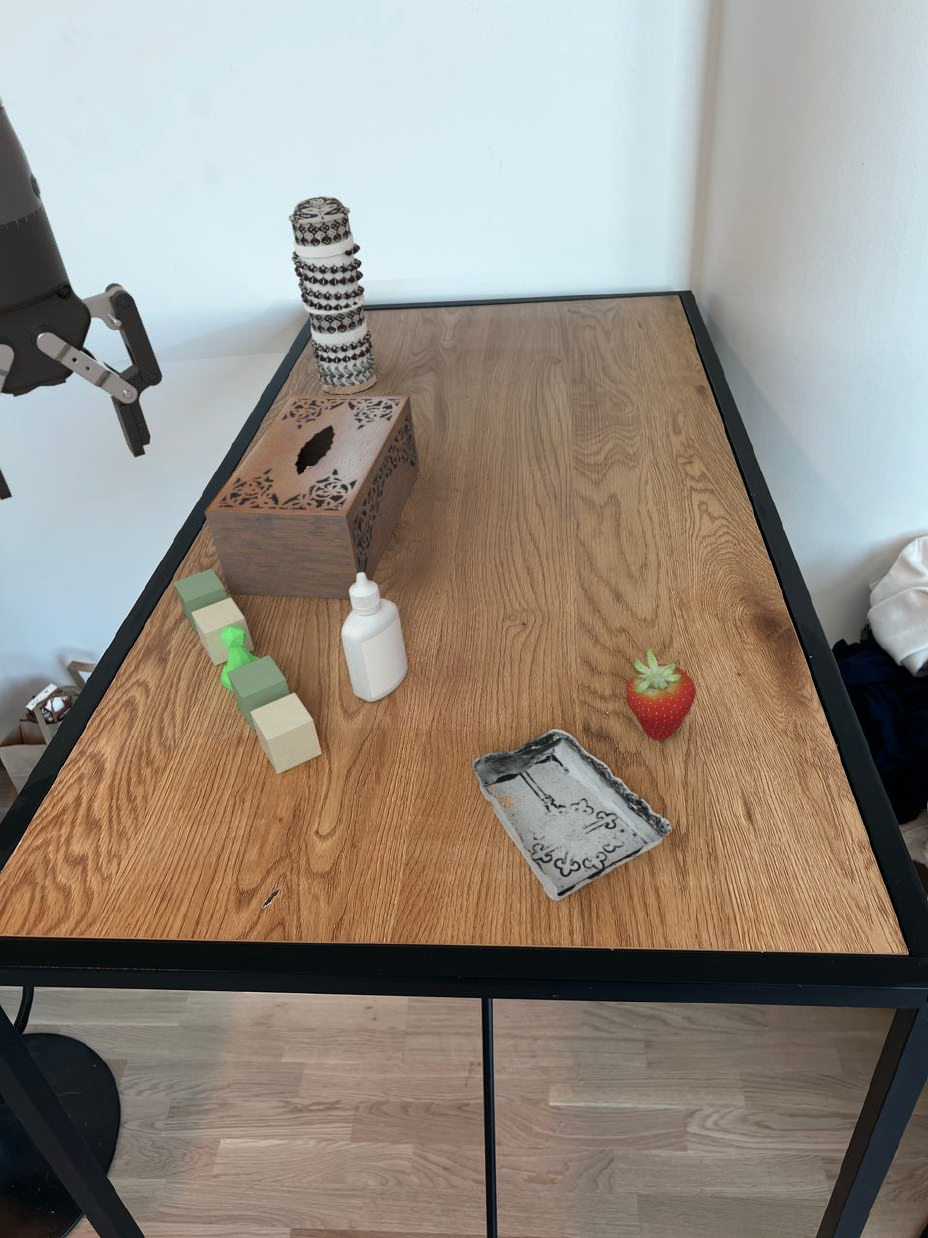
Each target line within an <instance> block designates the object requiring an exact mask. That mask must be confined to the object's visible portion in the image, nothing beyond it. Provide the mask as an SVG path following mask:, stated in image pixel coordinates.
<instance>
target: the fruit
mask: <svg viewBox="0 0 928 1238" xmlns="http://www.w3.org/2000/svg"><path fill="white" fill-rule="evenodd" d="M646 658H647V665H648V666H646V665H645V664H644V663H643V662H642V661H640V660H639V658H638V657H636V658H635V660H634V663H633V667H634V668H635V670H636V671H638V672H637V673H635V674H633V673H632V672H629V674H630V675H631V676H632V677H631V678H630V679H629V680H628V683H627V685H626V690H625V696H626V698H625V699H626V702H627V704H628V707H629V710H630V711H632V713H633V714H634V716H636V717H637V720H638V721H639V724H640V725H641V728H642V729H643V731H644V733H645V734H646V736H647V737H649V738H651V739H652V740H656V741H660V740H661V741H663V740H666V739H668V738H670V737H671V736H672V735H673V734H674V733H675V732H676V731H677V730H678V729H679V727H680V726H681V724H682V722H683V720H684V719H685V717H686V716H687V714H688V713H689V711H690V710H691V708H692V706H693V704H694V702H695V699H696V694H697V693H696V686H695V683H694V681H693V680H692V678H691V677H690V675H688V674H687V673H686V672H685V671H684V670H683V669H681V668H679V667H678V666H677V665H676V663H677V661H678V660H679V655H678V656H677V658H676V660H675V661H673V662H672V663H670V664H666V663H659V664H658V660H657V657H656V656H655V655H654V652H653V650H652V648H651V647H649V649H648V650H647V653H646Z"/></svg>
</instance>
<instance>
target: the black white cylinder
mask: <svg viewBox="0 0 928 1238" xmlns="http://www.w3.org/2000/svg"><path fill="white" fill-rule="evenodd" d="M350 213H351V209H350V208H349V207H347V206H345V205H344V204H343V203H342V202H341V201H340V200H339V199H338V198H336V197H333V196H318V197H311V198H306V199H304V200H302V201H299V202H298V203H297V204H296V205H295V206H294V210H293V213H291V215H289V216H288V221H290V224H291V227H292V233H293V237H294V240H293V247H294V251H293V252H292V257H291V261H292V262H293V264H294V265H295V267H294V272H295V276H296V277H298V278H299V280H298V281H299V282H298V284H297V285H298V288H300V292H301V294H300V297H301V300H302V303H304V306H303V307H304V310H305V311H306V312H308V314H309V321H310V324H311V325H310V332H311V338H312V339H311V342H310V343H311V348H313V349H314V350H313V357H314V358H315V359H316V360H315V369H316V371H317V379H318V381H319V383H320V382H322V383H324V384H325V385H329V384H330V385H331V386H333V387H336V386H337V385H340V386H341V387H346V385H351V386H354V385H355V384H359V383H360V384H363V383H364V382H365V381H369V380H370V379H371V377H373V376H374V375H375V374H376V371H377V367H376V364H375V363H374V362H375V360H376V357H375V356H374V352H372V349H373V348H374V347H373V344H372V341H371V340H370V339H371V338H372V334H371V332H370V330H369V329H368V324H367V319H366V317H365V314H364V313H365V312H364V307H363V304H364V303H365V299H366V297H365V295H364V293H365V287H363V286H362V285H360V284H359V282H360V281H361V279H362V278H364V273H363V272H362V271H360V270H358V269H360V268H361V266H362V263H363V262H362V261H361V260H360V259H358V258H357V257H354V256H355V254H356V255H357V253H358V252H359V251H360V250H361V246H360V245H359V244H357V243H355V241H354V236H353V235H354V234H353V232H352V231H351V223H350V218H349V214H350Z"/></svg>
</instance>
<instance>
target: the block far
mask: <svg viewBox="0 0 928 1238" xmlns="http://www.w3.org/2000/svg"><path fill="white" fill-rule="evenodd" d="M173 585H174V588H175V591H176V594H177V596H178V599H179V602H180V605H181V608H182V611H183V614H184V615H185V618H186V620H187V621H188V622H189V624H190V626H191V627H192V630H193V631H194V633H195V634H198V631H197V628H196V625H195V622H194V619H193V616H192V612H193V611H196V610H199V609H201V608H204V607H207V606H209V605H212V604H214V603H217V602H220V601H222V600H225V599H227V598H229V597H228V594H227V591H226V588H225V585H224V584H223V583H222V581H221V580H220V578H219V576H218V575H217V574H216V572H215V571H214V569H213V568H212V567H211V568H209V569H206V570H203V571H200V572H197V573H195V574H193V575H190V576H187V577H184V578H181V579H178V580H176V581H173Z"/></svg>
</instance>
